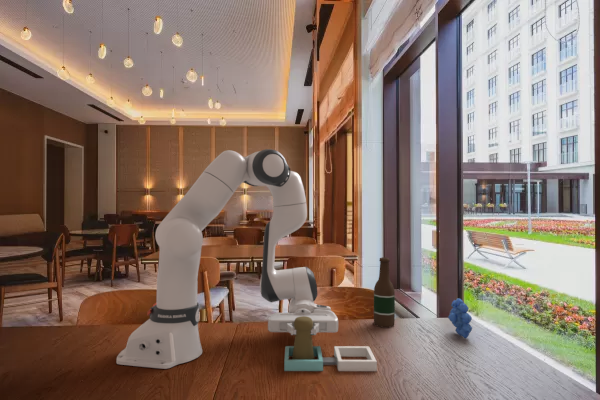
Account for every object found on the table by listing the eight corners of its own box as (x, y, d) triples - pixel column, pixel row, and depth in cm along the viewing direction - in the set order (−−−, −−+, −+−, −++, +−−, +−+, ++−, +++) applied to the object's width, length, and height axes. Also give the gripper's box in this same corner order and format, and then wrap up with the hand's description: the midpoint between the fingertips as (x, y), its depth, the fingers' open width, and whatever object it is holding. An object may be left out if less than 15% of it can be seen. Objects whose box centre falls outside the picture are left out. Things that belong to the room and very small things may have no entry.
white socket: (322, 371, 94) (323, 361, 94) (320, 355, 104) (320, 346, 104) (376, 371, 94) (376, 361, 94) (368, 355, 104) (368, 346, 104)
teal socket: (284, 370, 94) (284, 361, 94) (285, 354, 104) (285, 346, 104) (322, 371, 94) (323, 361, 94) (320, 355, 104) (320, 346, 104)
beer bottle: (397, 323, 133) (398, 257, 133) (391, 329, 126) (391, 260, 126) (377, 319, 137) (377, 255, 137) (369, 325, 130) (370, 258, 130)
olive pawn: (312, 363, 96) (312, 321, 96) (290, 361, 97) (290, 320, 97) (315, 354, 102) (316, 314, 102) (294, 352, 103) (295, 313, 103)
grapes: (440, 329, 126) (440, 295, 127) (459, 329, 127) (459, 295, 127) (456, 342, 115) (456, 304, 115) (477, 342, 115) (477, 304, 115)
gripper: (268, 305, 112) (265, 320, 98) (335, 306, 112) (340, 320, 98) (268, 326, 112) (265, 343, 98) (334, 326, 112) (340, 344, 98)
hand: (303, 332), depth 98 cm, fingers closed on olive pawn, 4 cm apart
